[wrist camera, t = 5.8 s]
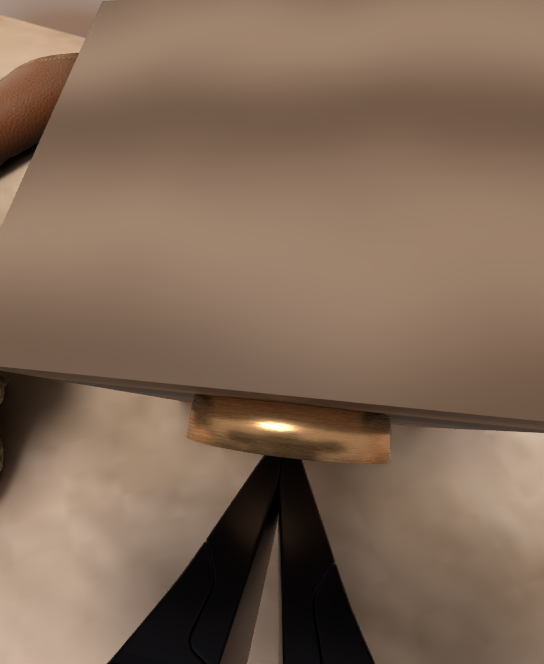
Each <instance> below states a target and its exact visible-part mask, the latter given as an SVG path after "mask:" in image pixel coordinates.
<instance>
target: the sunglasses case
mask: <svg viewBox="0 0 544 664" xmlns="http://www.w3.org/2000/svg"><path fill="white" fill-rule="evenodd" d="M78 55H79V53H70V54H60V55H53V56H52V55H51V56H47V57H41V58H38V59H35V60H33V61H29V62H27V63H25V64H23V65H21V66H19V67H17V68H15V69H14V70H13V71H12V72H10V73H9V74H8V75H7V76H5V77H4V78H3V79H1V80H0V166H1V165H2V164H3V163H4V162H5V161H6V160H7V159H8V158H11V157H15V156H16V155H18V154H19V153H21V152H23V151H25V150H27V149H28V148H30V147H32V146H34V145H35V144H37V143H39V141H40V139H41V137H42V135H43V133H44V130H45V128H46V126H47V124H48V121H49V119H50V117H51V115H52V112H53V110H54V108H55V106H56V104H57V101H58V99H59V97H60V95H61V92H62V90H63V88H64V86H65V84H66V81H67V79H68V77H69V75H70V72H71V70H72V68H73V66H74V63H75V61H76V59H77V57H78Z"/></svg>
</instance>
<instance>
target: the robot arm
mask: <svg viewBox="0 0 544 664" xmlns="http://www.w3.org/2000/svg"><path fill="white" fill-rule="evenodd" d="M278 514H279V517H278ZM277 521H278V603H279V664H375V662H374V660H373V657H372V655H371V653H370V651H369V648H368V646H367V644H366V641H365V639H364V637H363V634H362V632H361V630H360V627H359V625H358V622H357V620H356V617H355V615H354V613H353V610H352V608H351V605H350V602H349V599H348V597H347V594H346V591H345V588H344V585H343V583H342V580H341V577H340V574H339V571H338V568H337V565H336V564H335V559H334V556H333V553H332V550H331V547H330V544H329V541H328V538H327V535H326V532H325V529H324V526H323V523H322V520H321V517H320V514H319V511H318V508H317V504H316V501H315V498H314V495H313V492H312V489H311V486H310V483H309V480H308V477H307V474H306V471H305V468H304V465H303V462H302V459H293V458H285V457H277V456H269V455H264V456H263V457H262V459H261V460H260V461H259V463H258V464H257V466H256V467H255V469H254V470H253V472H252V473H251V475H250V476H249V478H248V479H247V481H246V482H245V483H244V485H243V486H242V488H241V489H240V491H239V492H238V494H237V495H236V497H235V498H234V500H233V501H232V502H231V504H230V505H229V507H228V508H227V510H226V511H225V513H224V514H223V516H222V517H221V519H220V520H219V521H218V523H217V524H216V526H215V527H214V529H213V530H212V532H211V533H210V535H209V536H208V538H207V539H206V542H204V543H203V545H202V546H201V548H200V549H199V550H198V552H197V553H196V555H195V556H194V558H193V559H192V560H191V562H190V563H189V565H188V566H187V567H186V569H185V570H184V571H183V573H182V574H181V576H180V577H179V578H178V579H177V581H176V582H175V583H174V584H173V586H172V587H171V588H170V589H169V591H168V592H167V593H166V594H165V596H164V597H163V598H162V599H161V600H160V602H159V603H158V604H157V605H156V606H155V608H154V609H153V610H152V611H151V612H150V614H149V615H148V616H147V617H146V618H145V620H144V621H143V622H142V623H141V624H140V626H139V627H138V628H137V629H136V630H135V632H134V633H133V634H132V635H131V636H130V637H129V639H128V640H127V641H126V642H125V643H124V645H123V646H122V647H121V648H120V649H119V651H118V652H117V653H116V654H115V655H114V656H113V658H112V659H111V660H110V661H109V662H108V663H107V664H247V660H248V655H249V651H250V646H251V642H252V637H253V632H254V628H255V623H256V619H257V614H258V609H259V605H260V600H261V596H262V591H263V586H264V582H265V577H266V573H267V568H268V564H269V559H270V554H271V550H272V545H273V541H274V536H275V531H276V526H277Z"/></svg>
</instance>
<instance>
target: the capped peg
mask: <svg viewBox="0 0 544 664" xmlns="http://www.w3.org/2000/svg"><path fill="white" fill-rule="evenodd" d="M186 437H187V438H189V439H190V440H193V441H196V442H199V443H203V444H207V445H211V446H216V447H221V448H226V449H231V450H237V451H243V452H249V453H255V454H262V455H269V456H277V457H285V458H293V459H302V460H312V461H323V462H335V463H351V464H383V463H388V462H390V461H391V424H390V417H389V416H385V415H380V414H375V413H368V412H362V411H355V410H348V409H341V408H333V407H325V406H317V405H308V404H299V403H290V402H281V401H271V400H260V399H249V398H237V397H223V396H199V395H198V396H194V398H193V403H192V409H191V414H190V420H189V425H188V430H187V436H186Z"/></svg>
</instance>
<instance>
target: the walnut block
mask: <svg viewBox="0 0 544 664" xmlns="http://www.w3.org/2000/svg"><path fill="white" fill-rule="evenodd" d="M0 371H6V372H12V373H18V374H24V375H30V376H36V377H42V378H48V379H54V380H60V381H66V382H72V383H78V384H84V385H89V386H95V387H101V388H107V389H113V390H119V391H125V392H131V393H137V394H143V395H149V396H155V397H161V398H167V399H173V400H179V401H188V402H193V398H194V396H198V395H199V396H223V397H237V398H249V399H260V400H271V401H281V402H290V403H299V404H308V405H317V406H325V407H333V408H341V409H348V410H355V411H362V412H368V413H375V414H380V415H385V416H389V417H390V423H391V424H400V425H409V426H418V427H433V428H454V429H475V430H496V431H517V432H537V433H544V0H114V1H103V2H102V3H101V6H100V8H99V10H98V12H97V15H96V17H95V19H94V21H93V23H92V26H91V28H90V30H89V32H88V35H87V37H86V39H85V41H84V43H83V46H82V48H81V50H80V52H79V55H78V57H77V59H76V61H75V63H74V66H73V68H72V70H71V72H70V75H69V77H68V79H67V81H66V84H65V86H64V88H63V90H62V92H61V95H60V97H59V99H58V101H57V104H56V106H55V108H54V110H53V112H52V115H51V117H50V119H49V121H48V124H47V126H46V128H45V130H44V133H43V135H42V137H41V139H40V141H39V144H38V146H37V148H36V150H35V153H34V155H33V157H32V159H31V161H30V164H29V166H28V168H27V170H26V173H25V175H24V177H23V179H22V182H21V184H20V186H19V188H18V190H17V193H16V195H15V197H14V199H13V202H12V204H11V206H10V208H9V210H8V213H7V215H6V217H5V219H4V222H3V224H2V226H1V228H0Z"/></svg>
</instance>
